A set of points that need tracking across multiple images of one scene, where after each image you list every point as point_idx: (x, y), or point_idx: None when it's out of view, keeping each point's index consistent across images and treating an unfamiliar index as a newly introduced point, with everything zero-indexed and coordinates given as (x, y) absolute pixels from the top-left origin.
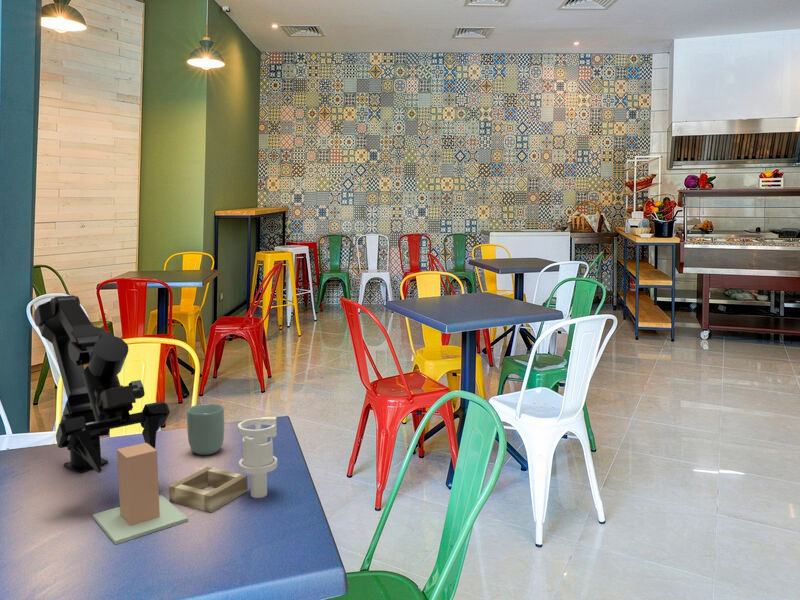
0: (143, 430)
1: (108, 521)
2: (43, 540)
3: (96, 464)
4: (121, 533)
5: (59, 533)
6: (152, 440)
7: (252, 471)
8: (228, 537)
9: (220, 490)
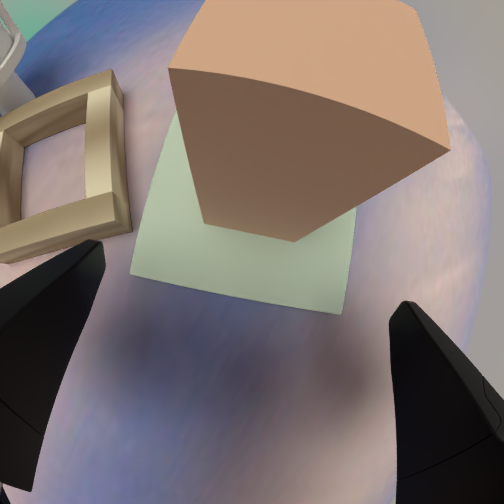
0: (13, 480)
1: (333, 234)
2: (442, 284)
3: (434, 322)
4: None
5: (416, 291)
6: (16, 294)
7: (23, 38)
8: (188, 14)
9: (73, 83)
